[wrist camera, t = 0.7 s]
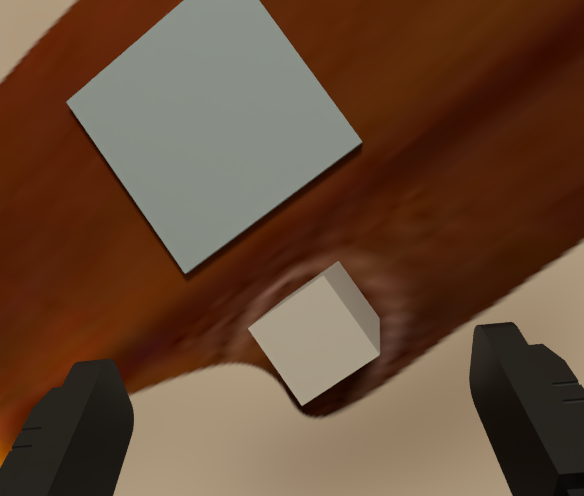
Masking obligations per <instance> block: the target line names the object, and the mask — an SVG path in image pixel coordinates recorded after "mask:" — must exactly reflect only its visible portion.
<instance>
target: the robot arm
mask: <svg viewBox="0 0 584 496" xmlns="http://www.w3.org/2000/svg"><path fill="white" fill-rule="evenodd" d="M469 380H470V389H471V395H472V398H473V402H474V405H475V407H476V410H477V412H478V414H479V417H480V419H481V422H482V424H483V426H484V428H485V431H486V433H487V436H488V438H489V441H490V443H491V445H492V448H493V450H494V452H495V455H496V457H497V460H498V462H499V464H500V467H501V469H502V472H503V474H504V476H505V479H506V480H507V483H508V486H509V488H510V491H511V493H512V495H513V496H584V388H583V387H582V385H579V383H578V379H577V378H576V376H575V375H574V374H573V372H572V371H571V369H570V368H569V366H568V365H567V363H566V362H565V360H563V359H562V358H561V357H559V356H558V355H557V354H555V353H554V352H553V351H551V350H550V349H549V348H547V347H546V346H545V345H543V344H535V345H528V344H527V342H526V340H525V339H524V337H523V335H522V334H521V332H520V330H519V329H518V327H517V326H516V325H515V324H514V323H512V322H506V323H495V324H485V325H477V326H476V327H475V329H474V335H473V345H472V355H471V366H470V376H469ZM133 426H134V413H133V407H132V404H131V401H130V399H129V396H128V394H127V391H126V389H125V386H124V384H123V381H122V379H121V376H120V373H119V371H118V368H117V366H116V364H115V362H114V361H113V360H112V359H103V360H93V361H82V362H76V363H75V364H74V365H73V366H72V368H71V370H70V372H69V374H68V376H67V378H66V380H65V382H64V384H63V386H62V387H58V388H52V389H51V390H50V391H49V392H48V393H47V394H46V395H45V396H44V397H43V398H42V399H41V400H40V401H39V402H38V403H37V404H36V405H35V406H34V407H33V409H32V411H31V413H30V414H29V416H28V418H27V420H26V422H25V424H24V426H23V427H22V433H19V435H18V437H17V438H16V440H15V442H14V444H13V446H12V451H9V453H8V455H7V457H6V459H5V460H4V462H3V464H2V466H1V468H0V496H113V494H114V491H115V487H116V484H117V481H118V478H119V474H120V471H121V468H122V465H123V461H124V458H125V455H126V452H127V449H128V445H129V442H130V439H131V436H132V432H133Z"/></svg>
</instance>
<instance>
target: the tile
mask: <svg viewBox="0 0 584 496" xmlns="http://www.w3.org/2000/svg"><path fill="white" fill-rule="evenodd" d="M67 104H68V105H69V107H70V108H71V110H72V111H73V112H74V114H75V115H76V117H77V118H78V120H79V121H80V123H81V124H82V125H83V127H84V128H85V130H86V131H87V133H88V134H89V136H90V137H91V139H92V140H93V141H94V143H95V144H96V146H97V147H98V149H99V150H100V152H101V153H102V154H103V156H104V157H105V159H106V160H107V162H108V163H109V165H110V166H111V167H112V169H113V170H114V172H115V173H116V175H117V176H118V178H119V179H120V180H121V182H122V183H123V185H124V186H125V188H126V189H127V191H128V192H129V194H130V195H131V196H132V198H133V199H134V201H135V202H136V204H137V205H138V207H139V208H140V209H141V211H142V212H143V214H144V215H145V217H146V218H147V220H148V221H149V222H150V224H151V225H152V227H153V228H154V230H155V231H156V233H157V234H158V235H159V237H160V238H161V240H162V241H163V243H164V244H165V246H166V247H167V249H168V250H169V251H170V253H171V254H172V256H173V257H174V259H175V260H176V262H177V263H178V264H179V266H180V267H181V269H182V270H183V272H184V273H185V274H187V273H189V272H190V271H192V270H193V269H194V268H196V267H197V266H198V265H200V264H201V263H202V262H204V261H205V260H206V259H208V258H209V257H210V256H212V255H213V254H214V253H216V252H217V251H218V250H220V249H221V248H222V247H224V246H225V245H226V244H228V243H229V242H230V241H232V240H233V239H234V238H236V237H237V236H239V235H240V234H241V233H243V232H244V231H245V230H247V229H248V228H249V227H251V226H252V225H253V224H255V223H256V222H257V221H259V220H260V219H261V218H263V217H264V216H265V215H267V214H268V213H269V212H271V211H272V210H273V209H275V208H276V207H277V206H279V205H280V204H281V203H283V202H284V201H285V200H287V199H288V198H289V197H291V196H292V195H294V194H295V193H296V192H298V191H299V190H300V189H302V188H303V187H304V186H306V185H307V184H308V183H310V182H311V181H312V180H314V179H315V178H316V177H318V176H319V175H320V174H322V173H323V172H324V171H326V170H327V169H328V168H330V167H331V166H332V165H334V164H335V163H336V162H338V161H339V160H340V159H342V158H343V157H345V156H346V155H347V154H349V153H350V152H351V151H353V150H354V149H355V148H357V147H358V146H359V145H361V144H362V141H361V139H360V138H359V137H358V135H357V134H356V132H355V131H354V130H353V128H352V127H351V126H350V124H349V123H348V122H347V120H346V119H345V117H344V116H343V115H342V113H341V112H340V111H339V109H338V108H337V106H336V105H335V104H334V102H333V101H332V100H331V98H330V97H329V95H328V94H327V93H326V91H325V90H324V89H323V87H322V86H321V85H320V83H319V82H318V80H317V79H316V78H315V76H314V75H313V74H312V72H311V71H310V69H309V68H308V67H307V65H306V64H305V63H304V61H303V60H302V58H301V57H300V56H299V54H298V53H297V52H296V50H295V49H294V48H293V46H292V45H291V43H290V42H289V41H288V39H287V38H286V37H285V35H284V34H283V32H282V31H281V30H280V28H279V27H278V26H277V24H276V23H275V21H274V20H273V19H272V17H271V16H270V15H269V13H268V12H267V11H266V9H265V8H264V6H263V5H262V4H261V2H260V1H259V0H184V1H182V2H181V3H180V4H179V5H178V6H177V7H176V8H174V9H173V10H172V11H171V12H170V13H169V14H167V15H166V16H165V17H164V18H163V19H162V20H160V21H159V22H158V23H157V24H156V25H155V26H154V27H152V28H151V29H150V30H149V31H148V32H147V33H145V34H144V35H143V36H142V37H141V38H140V39H139V40H137V41H136V42H135V43H134V44H133V45H132V46H130V47H129V48H128V49H127V50H126V51H125V52H124V53H122V54H121V55H120V56H119V57H118V58H117V59H115V60H114V61H113V62H112V63H111V64H110V65H108V66H107V67H106V68H105V69H104V70H103V71H102V72H100V73H99V74H98V75H97V76H96V77H95V78H93V79H92V80H91V81H90V82H89V83H88V84H87V85H85V86H84V87H83V88H82V89H81V90H80V91H78V92H77V93H76V94H75V95H74V96H73V97H71V98H70V99H69V100H68V101H67Z"/></svg>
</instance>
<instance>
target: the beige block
mask: <svg viewBox="0 0 584 496" xmlns="http://www.w3.org/2000/svg"><path fill="white" fill-rule="evenodd" d="M248 329H249V331H250V332H251V333H252V335H253V336H254V338H255V339H256V341H257V342H258V344H259V345H260V346H261V348H262V349H263V351H264V352H265V354H266V355H267V356H268V358H269V359H270V361H271V362H272V364H273V365H274V367H275V368H276V369H277V371H278V372H279V374H280V375H281V377H282V378H283V380H284V381H285V382H286V384H287V385H288V387H289V388H290V390H291V391H292V392H293V394H294V395H295V397H296V398H297V400H298V401H299V403H300V404H301V405H302V406H303V405H304V404H306V403H307V402H309V401H310V400H312V399H313V398H315V397H316V396H318V395H319V394H321V393H323V392H324V391H326V390H327V389H329V388H330V387H332V386H333V385H335V384H336V383H338V382H339V381H341V380H342V379H344V378H345V377H347V376H348V375H350V374H352V373H353V372H355V371H356V370H358V369H359V368H361V367H362V366H364V365H365V364H367V363H368V362H370V361H371V360H373V359H374V358H376V357H377V356H379V355H380V325H379V317H378V316H377V314H376V313H375V312H374V310H373V309H372V307H371V306H370V305H369V303H368V302H367V300H366V299H365V297H364V296H363V295H362V293H361V292H360V290H359V289H358V288H357V286H356V285H355V283H354V282H353V281H352V279H351V278H350V276H349V275H348V274H347V272H346V271H345V269H344V268H343V267H342V265H341V264H340V262H339V261H338V262H336V263H335V264H333V265H332V266H330V267H329V268H328V269H326V270H325V271H323V272H322V273H320V274H319V275H318V276H316V277H315V278H313V279H312V280H311V281H309V282H308V283H306V284H305V285H303V286H302V287H301V288H299V289H298V290H296V291H295V292H294V293H292V294H291V295H289V296H288V297H286V298H285V299H284V300H282V301H281V302H280V303H279V304H277V305H276V306H275V307H274V308H272V309H271V310H270V311H269V312H267V313H266V314H265V315H264V316H263V317H261V318H260V319H259V320H258V321H256V322H255V323H254V324H253V325H251V326H250V327H249V328H248Z"/></svg>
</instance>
